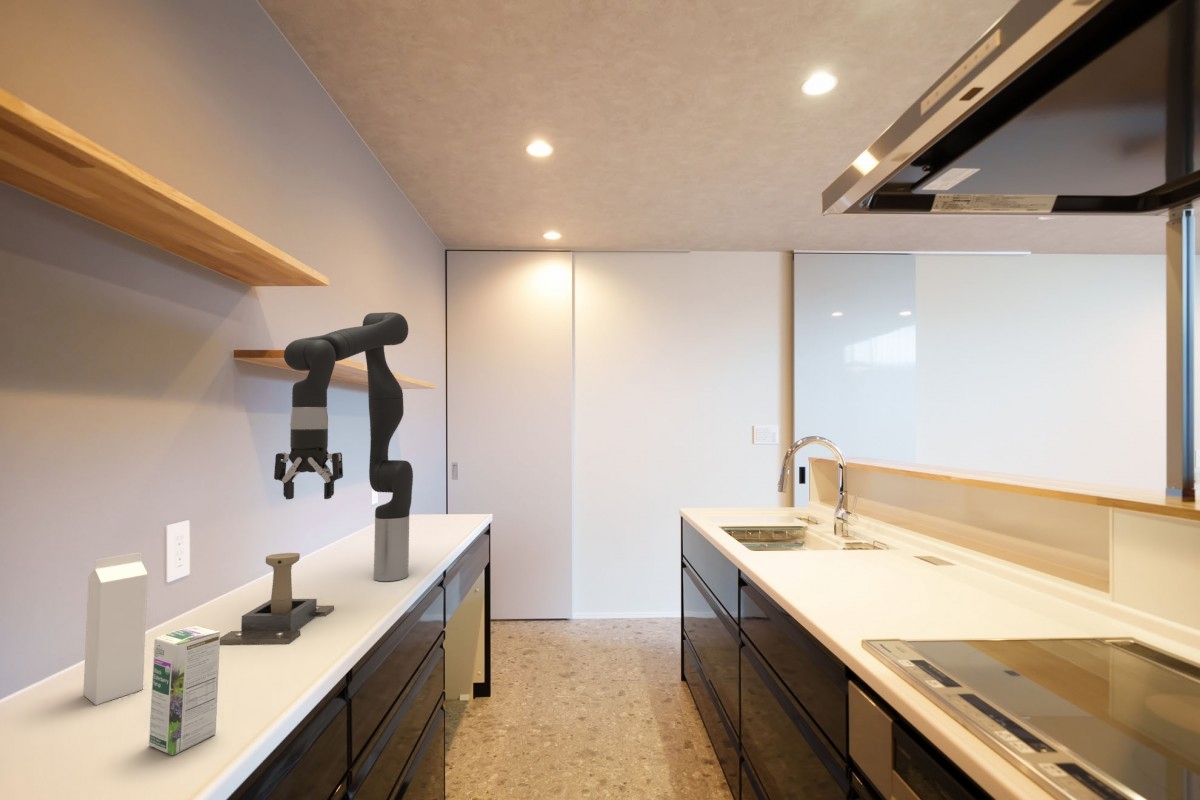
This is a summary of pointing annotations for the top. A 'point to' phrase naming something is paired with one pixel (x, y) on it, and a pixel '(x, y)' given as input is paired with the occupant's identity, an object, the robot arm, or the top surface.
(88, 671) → the milk
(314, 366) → the robot arm
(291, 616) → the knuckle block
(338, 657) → the top surface
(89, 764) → the top surface
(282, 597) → the handle
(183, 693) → the syrup box
